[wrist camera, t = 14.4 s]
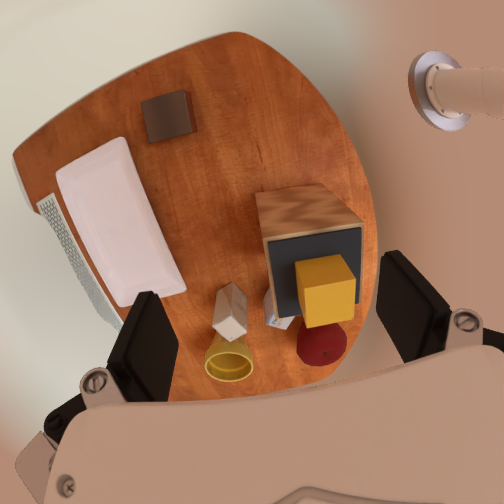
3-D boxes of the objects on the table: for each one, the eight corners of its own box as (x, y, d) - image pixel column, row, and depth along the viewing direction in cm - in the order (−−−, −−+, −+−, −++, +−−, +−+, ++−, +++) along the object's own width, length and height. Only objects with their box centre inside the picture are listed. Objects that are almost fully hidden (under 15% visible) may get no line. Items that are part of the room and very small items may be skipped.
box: (247, 296, 58) (249, 333, 48) (231, 306, 59) (230, 343, 49) (231, 280, 56) (230, 315, 46) (215, 290, 57) (211, 327, 47)
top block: (340, 253, 32) (356, 278, 27) (340, 291, 34) (353, 318, 29) (294, 261, 32) (303, 288, 27) (298, 299, 34) (306, 328, 29)
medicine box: (281, 303, 59) (286, 331, 51) (262, 297, 58) (265, 325, 50) (298, 274, 56) (306, 300, 48) (278, 267, 55) (284, 293, 47)
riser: (321, 183, 47) (364, 222, 30) (325, 243, 53) (360, 303, 36) (254, 193, 48) (262, 238, 31) (264, 253, 53) (275, 319, 36)
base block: (189, 92, 39) (183, 89, 35) (197, 131, 42) (192, 132, 38) (150, 103, 40) (140, 102, 35) (158, 141, 43) (149, 144, 38)
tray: (131, 132, 42) (123, 134, 39) (190, 283, 56) (188, 292, 53) (62, 168, 43) (52, 172, 40) (123, 299, 57) (118, 308, 54)
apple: (291, 342, 65) (299, 379, 54) (291, 308, 60) (300, 346, 49) (335, 335, 64) (348, 371, 54) (339, 301, 59) (355, 337, 49)
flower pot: (260, 341, 64) (262, 372, 55) (224, 356, 66) (222, 387, 57) (236, 313, 60) (235, 345, 51) (198, 331, 62) (193, 362, 53)
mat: (360, 226, 31) (361, 228, 30) (357, 301, 36) (358, 303, 35) (267, 241, 31) (267, 243, 31) (278, 316, 36) (279, 318, 36)
